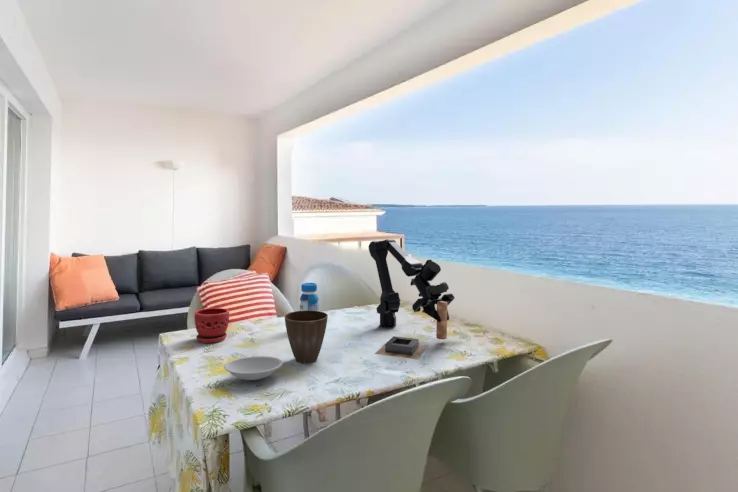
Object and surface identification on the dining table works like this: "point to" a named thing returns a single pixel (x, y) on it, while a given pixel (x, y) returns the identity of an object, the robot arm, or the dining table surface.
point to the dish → (253, 367)
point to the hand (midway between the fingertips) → (444, 320)
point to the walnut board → (414, 356)
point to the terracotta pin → (442, 320)
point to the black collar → (402, 345)
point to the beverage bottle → (309, 297)
